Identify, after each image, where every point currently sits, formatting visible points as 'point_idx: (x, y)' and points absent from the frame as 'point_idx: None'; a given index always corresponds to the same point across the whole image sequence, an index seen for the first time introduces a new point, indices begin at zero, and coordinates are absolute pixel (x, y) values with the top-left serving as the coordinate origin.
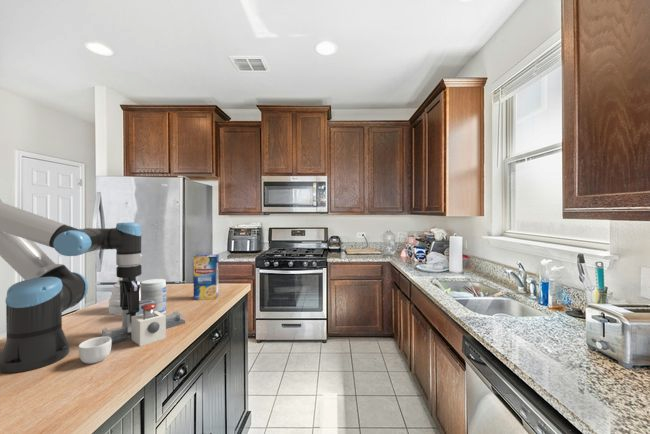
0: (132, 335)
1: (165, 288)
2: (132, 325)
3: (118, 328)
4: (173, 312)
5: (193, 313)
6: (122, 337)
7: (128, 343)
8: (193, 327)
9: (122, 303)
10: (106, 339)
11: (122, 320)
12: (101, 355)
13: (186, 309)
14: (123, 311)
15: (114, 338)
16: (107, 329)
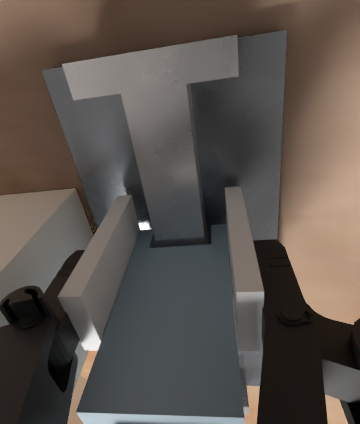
0: (43, 204)
1: None
2: (2, 245)
3: (166, 162)
4: (244, 403)
5: (252, 415)
6: (83, 155)
7: (22, 164)
8: (85, 371)
9: (299, 395)
10: None
11: (243, 220)
12: None
13: (332, 420)
14: (235, 291)
15: (94, 109)
16: (196, 82)
